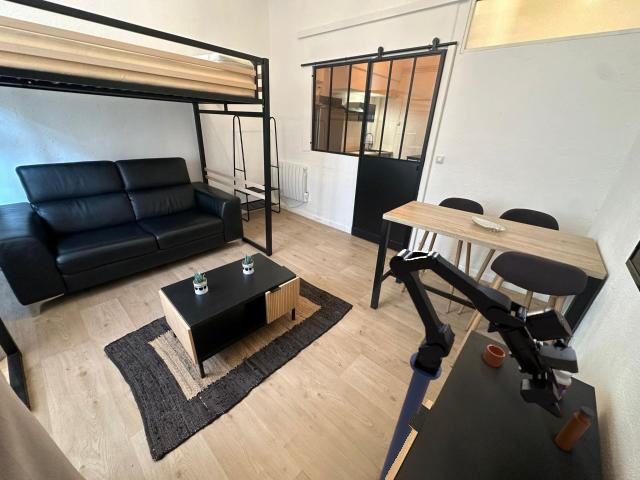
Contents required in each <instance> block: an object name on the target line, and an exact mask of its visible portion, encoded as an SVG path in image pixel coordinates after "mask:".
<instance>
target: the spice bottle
mask: <svg viewBox="0 0 640 480" xmlns="http://www.w3.org/2000/svg"><path fill="white" fill-rule="evenodd" d="M594 417H596V413H595V411H593V410H592V408H590V407H587V406H586V405H582V406H581V407H580V409H579V412H574V413H573V414H572V416H571V417H570V418H569V420H568V421H567V422H566V424H564V426H563V428H562V429H561V430H560V431H559V433H558V434H557V436H556V437H555V438H554V442H555V444H556V446H558V447H559V448H560V449H561V450H563V451H566V452H569V451H570V450H571V449H572V448H573V447H574V445H575V444H576V443H577V442H578V441H579V440H580V438H581V437H582V436H583V435H584V434H585V432H586V431H587V430H588V428H589V427H590V426H591V421H590V420H593V419H594Z"/></svg>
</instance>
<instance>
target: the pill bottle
mask: <svg viewBox="0 0 640 480" xmlns="http://www.w3.org/2000/svg"><path fill="white" fill-rule="evenodd" d="M553 371H554V374H555V376H556V379H557V382H558V385H559V389H557V390H558V392H559V401H560V400H561V399H562V397H563V396H564V394H566V391H567V390H568V389H569V387H570V386H571V385H572V379H571V378H572V377H573V374H574V373H570V372H567V371H561V370H555V369H553Z"/></svg>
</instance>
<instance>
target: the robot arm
mask: <svg viewBox="0 0 640 480" xmlns="http://www.w3.org/2000/svg"><path fill="white" fill-rule="evenodd" d="M388 266H389V269H390V270H391V272H392V274H393V275H394V276H395V278H396V279H397V280H399V281H400V282H401V283H403V285H404V286H405V289H406V291H407V294H408V295H409V298H410V300H411V301H412V304H413V306H414V307H415V310H416V312H417V314H418V316H419V318H420V321H421V322H422V324H423V326H424V335H425V336H424V337H423V339H422V340H421V342H420V344H419V346H418V348H417V351H416V352H417V356H416V359H415V362H414V367H416V368H418V369H420V370H422V371H424V372H426V373H428V374H430V375H432V376H436V372H437V371H439V369H440V366H441V367H442V363H443V359H444V358H445V359H446V358H448V357H449V355H450V354H451V351H452V348H453V346H454V344H455V337H456V334H455V332H454V331H453V329H452V326H451V324H450V323H446V324H445V323H444V322H443V321H441V319H440V318H439V316H438V313H437V312H436V310H435V307H434V305H433V303H432V301H431V298H430V297H429V295H428V293H427V291H426V289H425V286H424V284H423V282H422V280H421V277H420V271H424V270H430V271H431V272H433V273H434V274H435V275H437V276H438V277H439V278H441V279H442V280H443V281H445V282H446V283H447V284H449V285H450V286H451V287H453V288H454V289H455V290H457V291H458V292H460V293H461V294H462V295H463V296H464V297H466V298H467V299H468V300H469V301H470V303H472V305H473V307H474V308H475V310H476V311H477V312H478V313H479V314H480V315H481V316H482V317H483V318H484V319H485V320H486V321H488V322H489V323H488V325H487V328H486V329H487V330H486V332H487V333H488V334H491V333H498V335H499V336H500V337H501V339H502V340H503V342H504V343H505V346H506V347H507V348H508V355H509V357H510V358H511V359H515V361H516V362H517V363H518V371H519V373H520V374H528V375H531V376H532V378H525V379H521V381H520V384H519V387H520V388H519V395H520V396H521V398H522V399H523V401H524V402H525V403H527V404H536V405H537V406H539V407H541V408H542V409H544V410H545V411H547V412H548V413H550V414H551V415H552V416H554V417H555V418H557V419H563V417H564V416H563V413H562V411H561V409H560V406H559V404H558V402H560V400H559V392H558V390H557V389H559V385H558V382H557V379H556V376H555V374H554V371H553V369H555V370H561V371H567V372H570V373H573V374H579V373H580V371H579V364H578V359H577V353H576V350H575V349H574V348H573V346H572V345H568V343H567V342H566V341H565V340H564V339H572V338H573V337H574V334H573V331H572V329H571V327H570V324H569V323H568V321H567V319H566V317H564V315H563V314H561V312H559V311H558V310H556V308H555V307H554V306H552V305H551V306H547V307H544V308H541V309H536V310H533V311H528V308H527V306H524V305H522V304H520V303H519V302H516V301H514V300H512V299H511V298H510V296H508V295H507V294H505V293H503V292H501V291H499V290H498V289H496V288H493V287H491V286H487V285H484V284H481V282H480V283H479V282H478V281H477V280H476V279H474V278H473V277H472V276H470V275H469V274H467V273H466V272H464V271H463V270H462V269H461V268H459V267H457V266H456V265H455V264H453V263H452V262H450V261H449V260H448V259H446V258H445V257H443V256H442V255H441V254H440V253H439V252H438V251H423V250H410V249H401V250H400V251H398V252H397V253H396V254H395V255H393V256H392V257H391V258H390V260H389V262H388ZM512 312H514V315H513V314H512ZM549 341H552V342H551V343H548V342H549ZM415 365H416V366H415Z"/></svg>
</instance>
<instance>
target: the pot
mask: <svg viewBox="0 0 640 480" xmlns="http://www.w3.org/2000/svg"><path fill="white" fill-rule="evenodd" d="M505 357H506V352H505V351H504V349H503V348H501V347H499V346H498V345H496V344H488V345H487V346H486V348H485V351H484V353H483V355H482V360H483V361H484V362H485V363H486V364H487V365H489V366H491V367H494V368H499V367H500V366H501V365H502V363H503V361H504V359H505Z"/></svg>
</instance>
